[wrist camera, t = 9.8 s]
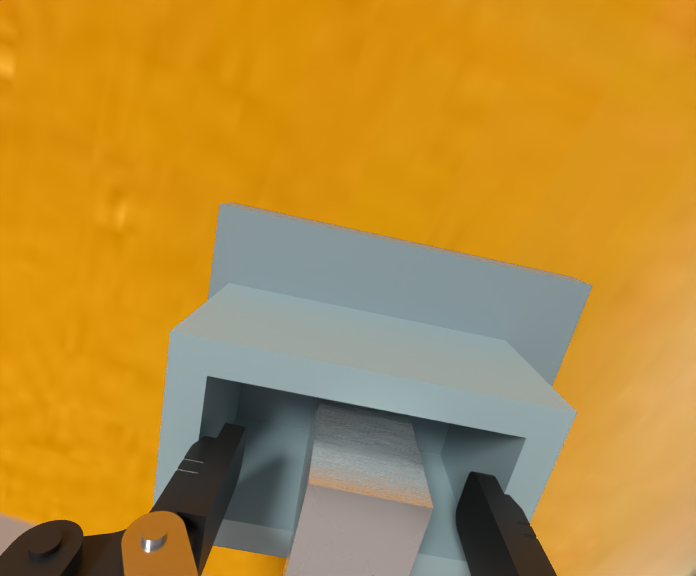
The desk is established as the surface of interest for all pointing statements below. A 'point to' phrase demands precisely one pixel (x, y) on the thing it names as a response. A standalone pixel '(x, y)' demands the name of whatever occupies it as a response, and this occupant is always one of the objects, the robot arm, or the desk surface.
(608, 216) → the desk surface
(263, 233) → the well board
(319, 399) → the grey painted wood block
